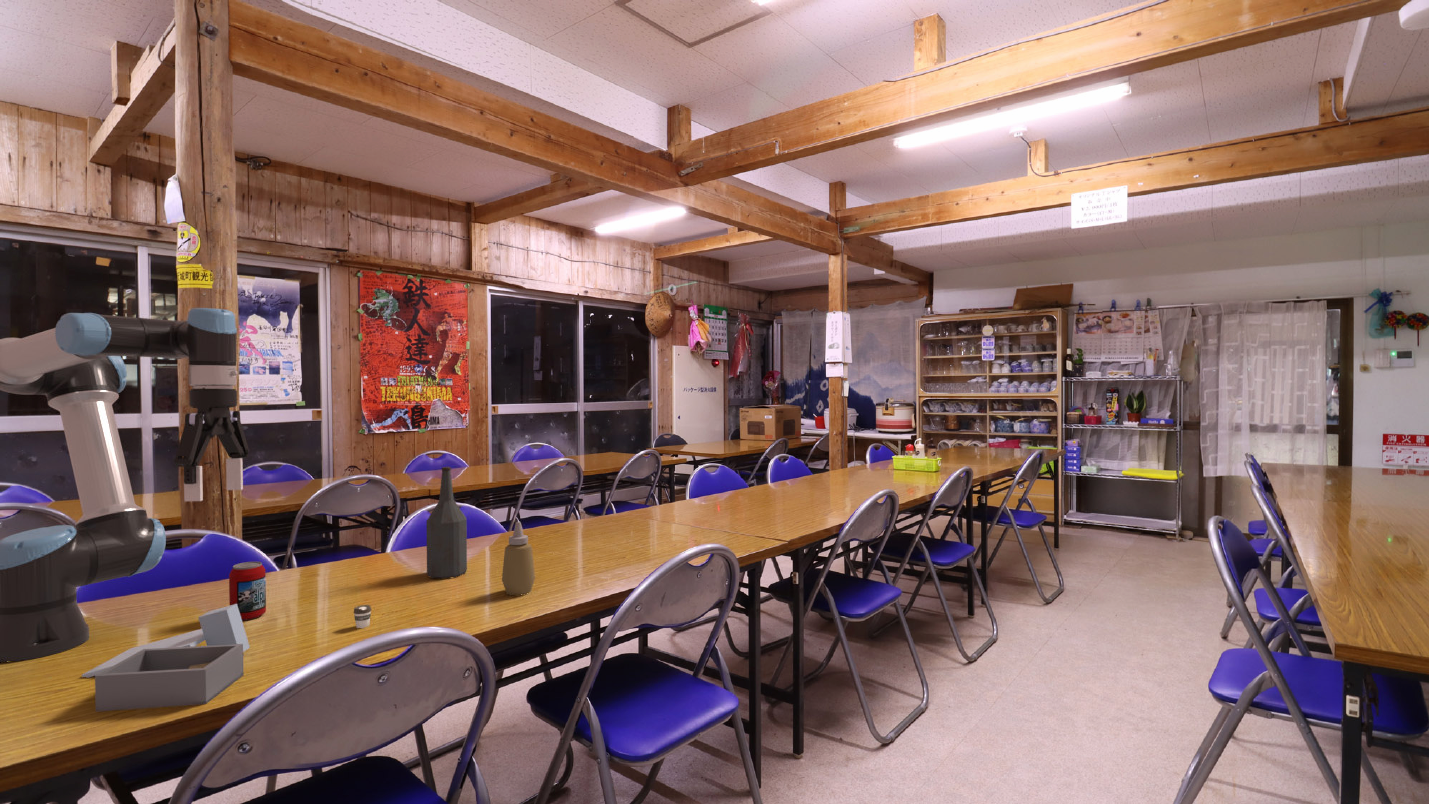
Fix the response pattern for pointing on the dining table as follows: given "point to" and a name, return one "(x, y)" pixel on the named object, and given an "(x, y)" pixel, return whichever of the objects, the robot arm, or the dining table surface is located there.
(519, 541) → the squeeze bottle
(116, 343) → the robot arm
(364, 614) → the coffee cup
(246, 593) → the beverage can
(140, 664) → the tub
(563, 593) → the dining table surface
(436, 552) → the bottle
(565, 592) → the dining table surface
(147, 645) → the lid
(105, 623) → the dining table surface
